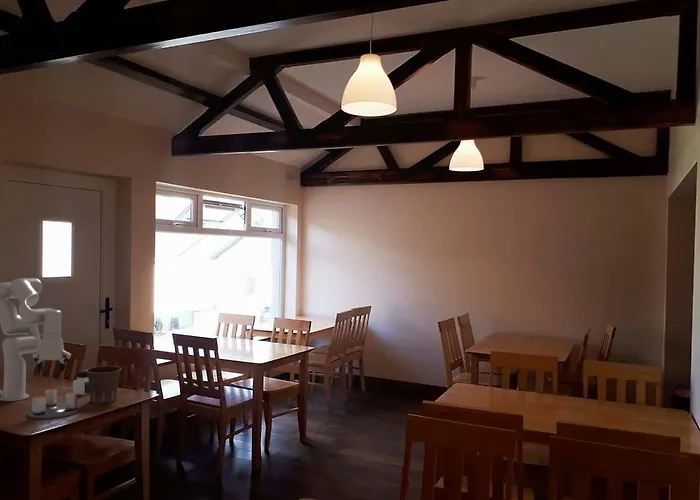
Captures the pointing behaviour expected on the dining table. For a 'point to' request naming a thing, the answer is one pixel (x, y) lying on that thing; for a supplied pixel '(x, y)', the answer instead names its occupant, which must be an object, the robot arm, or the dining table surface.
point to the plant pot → (103, 383)
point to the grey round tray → (53, 412)
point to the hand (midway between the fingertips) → (51, 371)
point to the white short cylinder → (71, 401)
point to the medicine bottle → (81, 383)
